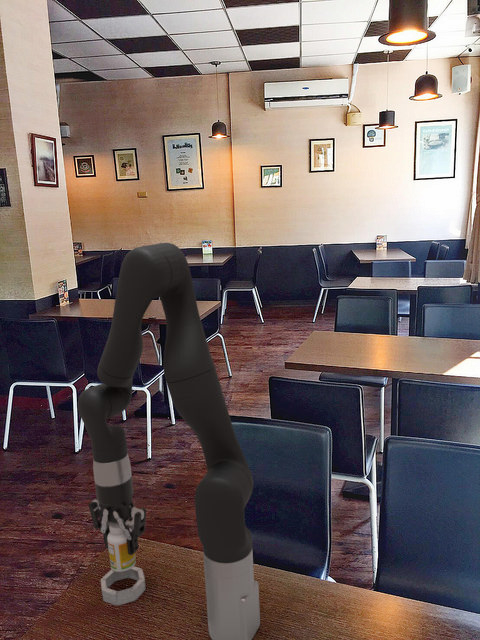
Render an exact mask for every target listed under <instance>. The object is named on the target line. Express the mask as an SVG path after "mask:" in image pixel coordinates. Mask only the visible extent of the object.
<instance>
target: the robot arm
mask: <svg viewBox="0 0 480 640" xmlns="http://www.w3.org/2000/svg"><path fill="white" fill-rule="evenodd" d="M118 275H119V276H118V282H117V288H116V294H115V300H114V301H115V302H114V305H113V313H112V320H111V326H110V330H109V333H108V337H107V340H106V344H105V347H104V349H103V352H102V355H101V357H100V360H99V362H98V367H97V377H98V379H99V381H100V382H101V384H97V385H94V386H92V387H88V388H86V389H85V390H83V391H82V392H80V395H79V396H78V401H77V410H78V414H79V417H80V418H81V420H82V423H83V425H84V427H85V430H86V432H87V435H88V436H89V437H88V438H89V439H90V442H91V443H90V444H91V451H92V459H93V468H92V469H93V479H94V485H95V495H96V498H95V499H93V500H92V501H90V502H89V503H88V504H87V505H88V509H89V513H90V517H91V520H92V524H93V526H94V527H93V528H94V529H95V530H98V529H99V530H100V532H101V533H102V534H103V535H102V536H103V542H104V545H105V549H107V550H109V549H108V541H107V536H108V534H109V533H110V530H109V524H110V523H111V522H116V523H117V524H119V526H120V528H121V530H122V531H124V532H125V535H126V537H127V547H128V554H129V555H133V554H134V553H135V554H136V552H137V551H138V550H139V541H138V540H139V539H140V537H141V536H142V535H143V534H144V533H145V532H146V522H147V509H146V508H145V507H141V508H137V507H135V503H134V502H133V496H134V495H133V494H134V486H133V477H132V466H131V460H130V458H129V452H128V451H129V450H128V443H127V435H126V431H125V429H124V428H123V427H122V426H120V425H115V424H113V425H108V424H107V423H108V422H107V419H110V418H112V417H114V416H117V415H119V414H121V413H124V411H125V410H127V408H128V407H129V406H130V404H131V401H132V393H133V382H134V381H133V379H134V378H133V377H134V374H135V372H136V370H137V367H138V365H139V364H140V360H141V358H142V354H143V350H144V340H143V333H142V322H143V319H144V316H145V314H146V312H147V310H148V308H149V306H150V304H151V303H152V301H153V300H154V299H156V298H157V299H158V298H159V300H160V302H161V305H162V309H163V312H164V316H165V321H166V322H165V323H166V324H165V325H166V334H165V336H166V337H165V344H164V352H163V374H164V375H163V376H164V379H165V383H166V385H167V388H168V392H169V396H170V399H171V401H172V404H173V406H174V408H175V410H176V412H177V413H178V414H179V416H180V417H181V419H182V420H183V421H184V422H185V423H186V425H188V427H189V428H190V429H191V430H192V431H193V433H194V434H195V436H196V438H197V439H198V441H199V443H200V444H199V445H200V446H201V449H202V453H203V457H204V462H205V466H206V471H207V472H206V474H205V475H204V476H203V477H202V479H201V480H200V481H199V483H198V484H197V486H196V488H195V493H194V510H195V511H194V512H195V519H196V527H197V536H198V538H199V541H200V543H201V545H202V552H203V555H202V556H203V566H204V567H203V569H204V581H205V582H204V583H205V596H206V597H205V599H206V612H207V625H208V635H209V637H210V638H211V640H253V638H254V636H255V635H256V633H257V631H258V630H259V628H260V626H261V612H260V611H261V610H260V594H259V593H260V591H259V590H260V589H259V581H258V580H255V578H254V575H255V574H254V557H253V556H254V555H253V537H252V536H253V535H252V533H251V531H250V529H249V528H248V527H247V526H246V519H245V508H246V505H248V502H249V500H250V498H251V496H252V494H253V491H254V479H253V478H254V477H253V475H252V471H251V469H250V467H249V464H248V461H247V459H246V457H245V454H244V452H243V449H242V447H241V445H240V443H239V441H238V438H237V436H236V433H235V431H234V427H233V424H232V419H231V416H230V413H229V408H228V406H227V403H226V400H225V397H224V393H223V389H222V386H221V382H220V379H219V376H218V373H217V370H216V365H215V363H214V361H213V360H214V359H213V357H212V354H211V351H210V348H209V343H208V340H207V337H206V334H205V333H206V332H205V330H204V327H203V323H202V320H201V317H200V312H199V308H198V303H197V299H196V293H195V287H194V284H193V278H192V273H191V269H190V265H189V262H188V260H187V258H186V256H185V254H184V252H183V251H182V250H181V249H180V247H179V246H177V245H176V244H173V243H171V242H160V243H155V244H147V245H142V246H138V247H137V246H136V247H134V248H133V249H131V250H129V251H128V252H127V253H126V255H125V256H124V258H123V260H122V263H121V266H120V271H119V274H118ZM127 520H128V522H127V523H126V524H125V522H126V521H127ZM129 528H130V529H131V530H132V531H131V532H130V529H129Z"/></svg>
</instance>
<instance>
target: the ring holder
mask: <svg viewBox="0 0 480 640" xmlns="http://www.w3.org/2000/svg"><path fill="white" fill-rule="evenodd" d="M125 579H131V580H134V581H136V582H135V584H133V586H132V587H129V588H125V589H121V590H118V591H117V590H114V589H111V586H112V585H113V584H114V583H115V582H117V581H122V580H125ZM100 587H101V597H102V601H103V602H105V603H108V604H111V605H113V606H116V607H117V606H122V605H125V604H129V603H132V602H135V601H137V599H139V597H140V596H141V595H142V594H143V593H144V591H146V579H145V574H144V571H143V568H140V567H138V566H136V565H134V566H133V567H132V568H131V569H129V570H126V571H122V572H116V571H114V570H112V568H111V569H110V570H109V571H108V572H107V573H106V574H104V575H103V577H101V579H100Z"/></svg>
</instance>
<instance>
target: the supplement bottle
mask: <svg viewBox="0 0 480 640" xmlns="http://www.w3.org/2000/svg"><path fill="white" fill-rule="evenodd" d="M128 521H129V519H128V520H127V521H126V522H125V524H126V523H127V522H128ZM129 529H130V532H131V531H132V530H131V528H130V527H129ZM109 530H110V533H109V534H108V536H107V541H108V549H107V550H108V556H109V565H110V568H111V569H112V570H114V571H116V572H122V571H126V570H129V569H131V568H132V567H133V566H136V562H137V559H136V558H137V557H136V556H137V555H136V552H135V553H134V554H133V555H129V554H128V547H127V537H126V535H125V532H124V531H122V530H121V528H120V526H119V524H117V523H116V522H111V523H110V524H109Z"/></svg>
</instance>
